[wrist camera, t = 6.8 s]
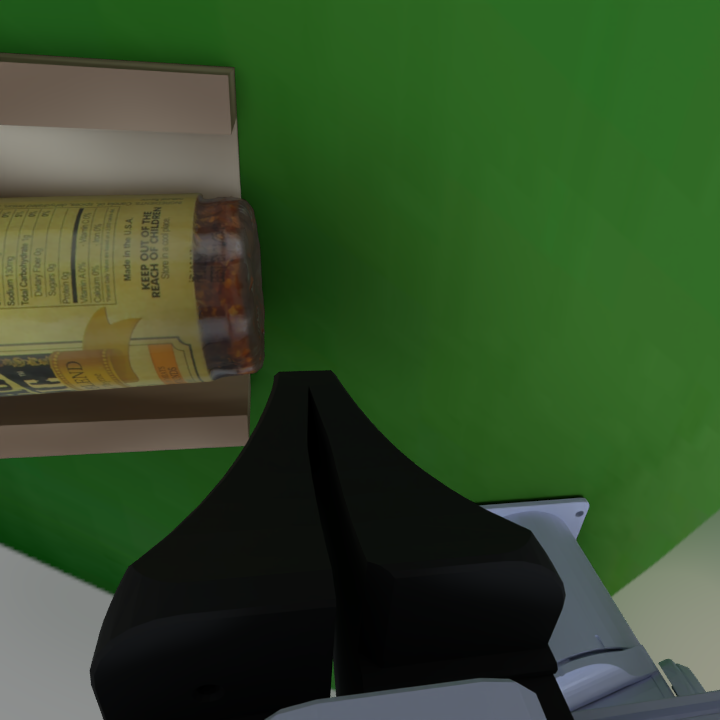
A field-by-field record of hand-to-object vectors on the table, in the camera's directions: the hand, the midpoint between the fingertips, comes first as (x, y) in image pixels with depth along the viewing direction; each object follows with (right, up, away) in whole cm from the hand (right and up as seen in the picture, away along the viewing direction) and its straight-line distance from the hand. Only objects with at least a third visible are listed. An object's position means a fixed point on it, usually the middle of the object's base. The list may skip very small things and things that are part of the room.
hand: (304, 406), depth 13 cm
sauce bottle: (-2, +4, +5) cm, 7 cm away
